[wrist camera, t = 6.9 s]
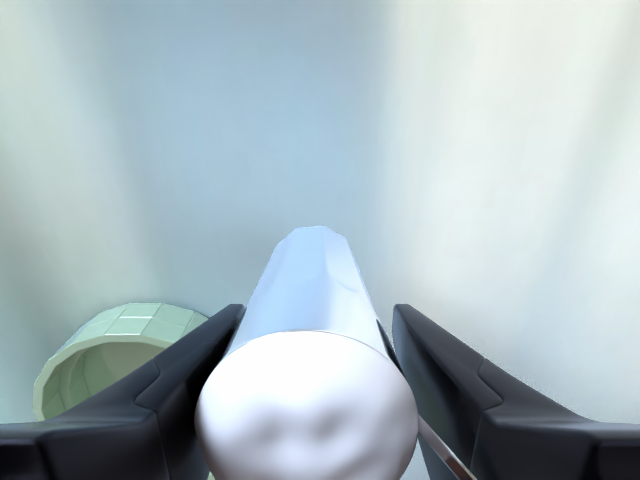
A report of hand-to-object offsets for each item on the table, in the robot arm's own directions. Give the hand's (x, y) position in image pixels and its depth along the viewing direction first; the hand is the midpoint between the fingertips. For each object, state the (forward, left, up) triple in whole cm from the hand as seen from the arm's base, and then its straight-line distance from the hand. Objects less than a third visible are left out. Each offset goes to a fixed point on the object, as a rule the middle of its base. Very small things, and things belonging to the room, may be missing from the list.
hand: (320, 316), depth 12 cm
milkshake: (0, 0, -4) cm, 4 cm away
